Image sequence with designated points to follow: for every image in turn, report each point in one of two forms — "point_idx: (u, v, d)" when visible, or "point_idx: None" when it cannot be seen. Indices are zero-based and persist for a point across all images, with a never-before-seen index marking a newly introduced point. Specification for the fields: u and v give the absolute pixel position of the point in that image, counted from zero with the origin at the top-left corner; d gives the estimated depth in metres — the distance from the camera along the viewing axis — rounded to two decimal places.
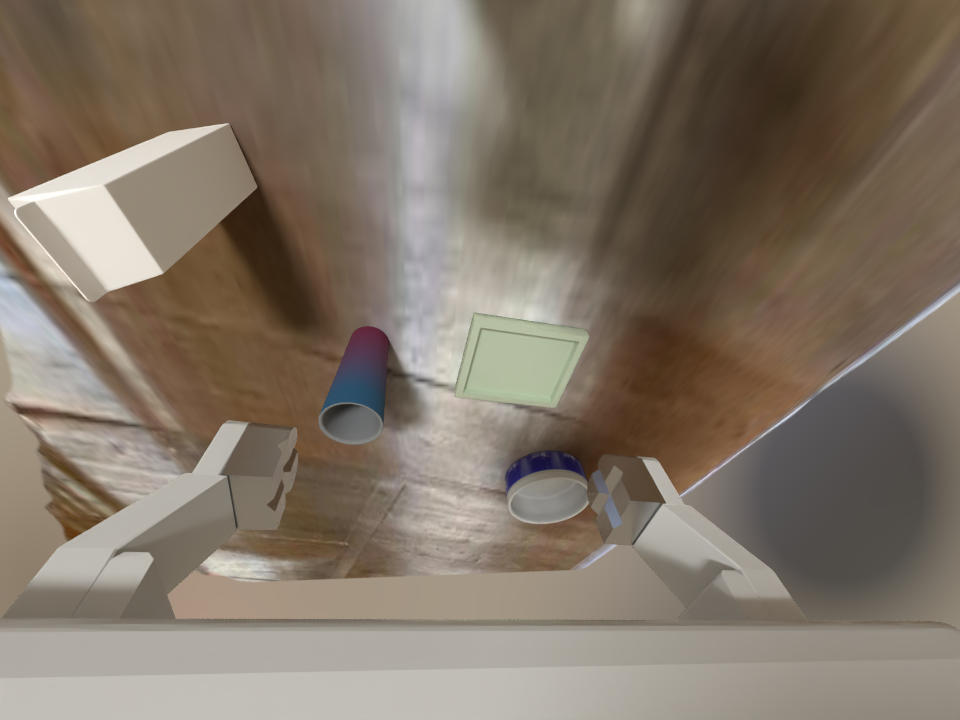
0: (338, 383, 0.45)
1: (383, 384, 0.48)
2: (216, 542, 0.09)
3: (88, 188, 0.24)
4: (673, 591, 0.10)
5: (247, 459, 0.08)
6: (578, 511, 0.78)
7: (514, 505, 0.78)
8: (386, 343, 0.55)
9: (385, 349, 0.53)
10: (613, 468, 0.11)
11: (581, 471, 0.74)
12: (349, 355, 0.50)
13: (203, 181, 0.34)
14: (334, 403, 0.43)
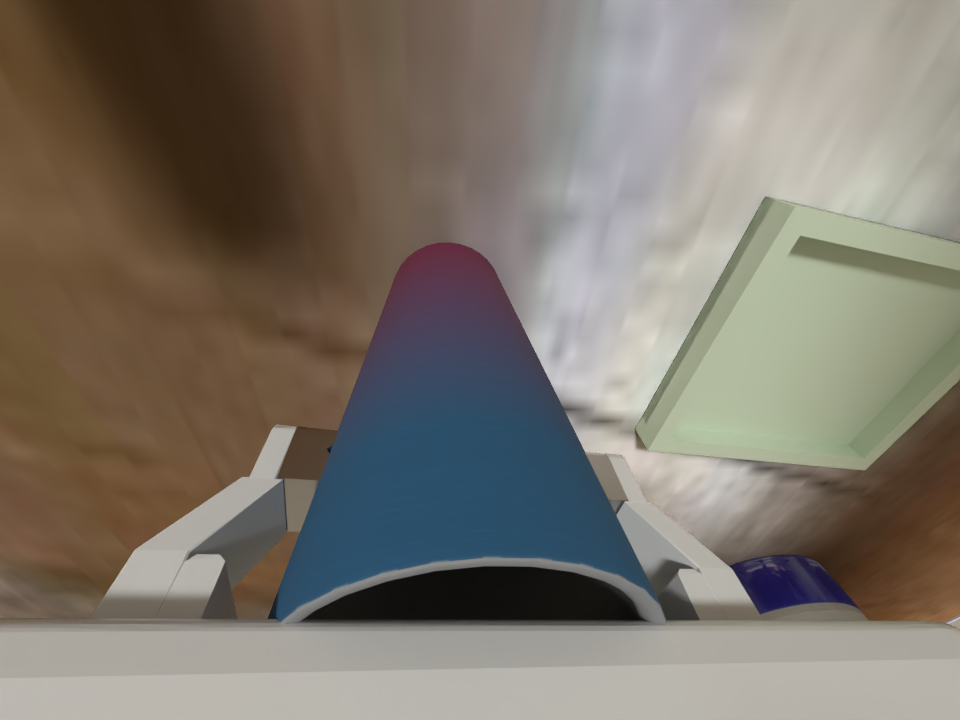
0: (384, 410, 0.08)
1: None
2: (269, 543, 0.09)
3: None
4: None
5: (300, 463, 0.09)
6: None
7: None
8: None
9: None
10: None
11: (850, 598, 0.35)
12: (409, 305, 0.13)
13: None
14: (376, 566, 0.05)
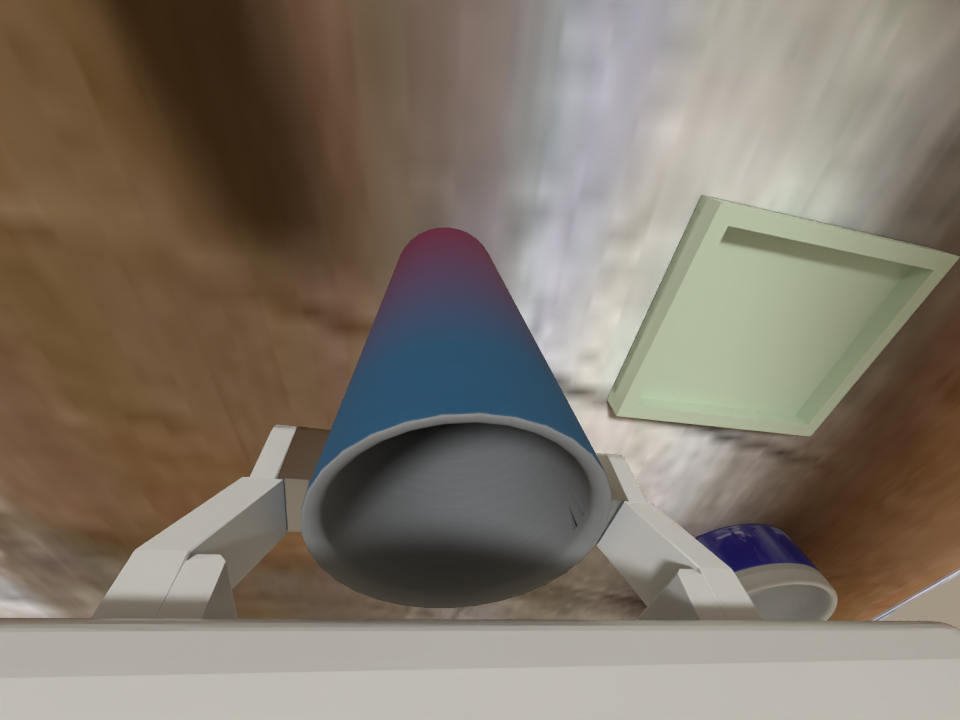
0: (399, 339, 0.10)
1: None
2: (270, 543, 0.09)
3: None
4: (636, 590, 0.10)
5: (300, 463, 0.09)
6: None
7: None
8: None
9: None
10: None
11: None
12: (415, 272, 0.15)
13: None
14: (400, 419, 0.07)
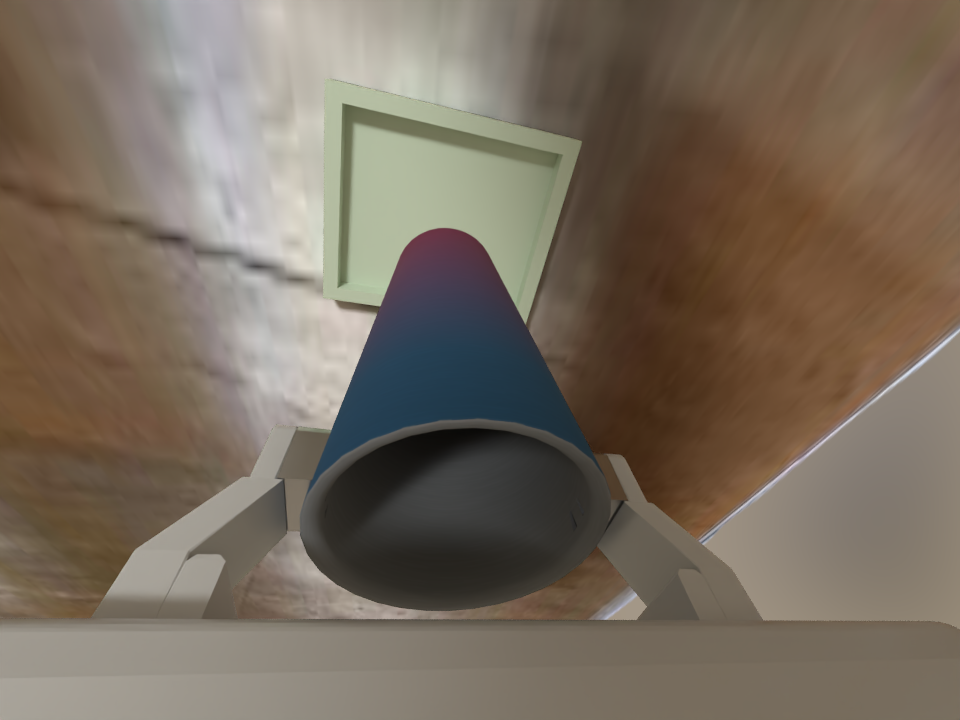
0: (398, 342, 0.10)
1: None
2: (270, 544, 0.09)
3: None
4: (636, 590, 0.10)
5: (300, 463, 0.09)
6: None
7: None
8: None
9: None
10: None
11: None
12: (415, 273, 0.15)
13: None
14: (399, 425, 0.07)
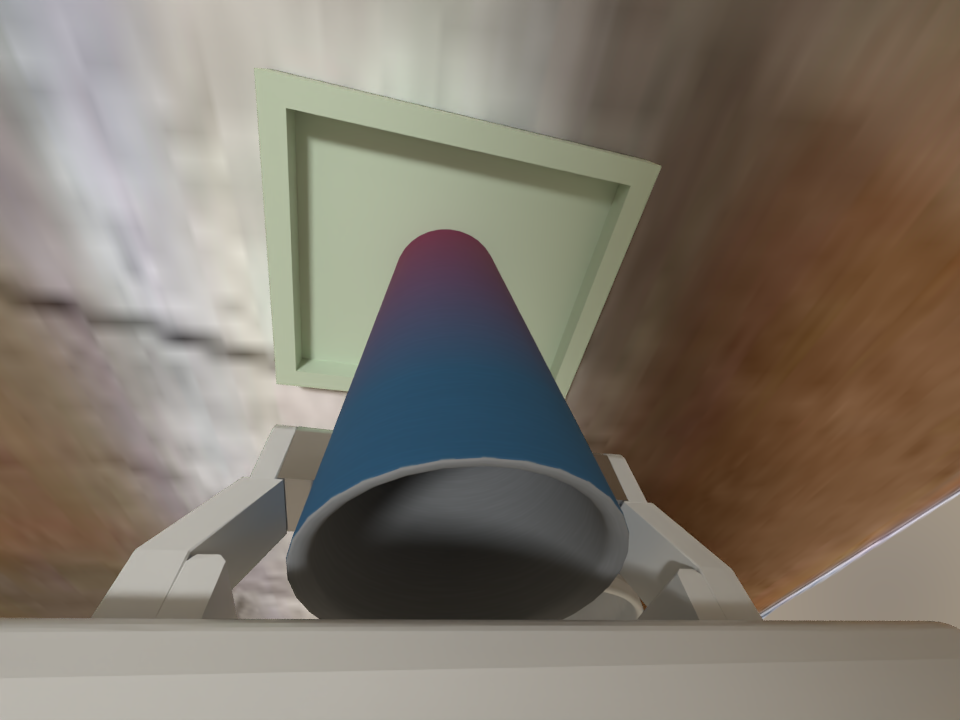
0: (395, 360, 0.10)
1: None
2: (269, 544, 0.09)
3: None
4: (635, 590, 0.10)
5: (300, 463, 0.09)
6: None
7: None
8: None
9: None
10: None
11: None
12: (414, 280, 0.14)
13: None
14: (396, 463, 0.07)
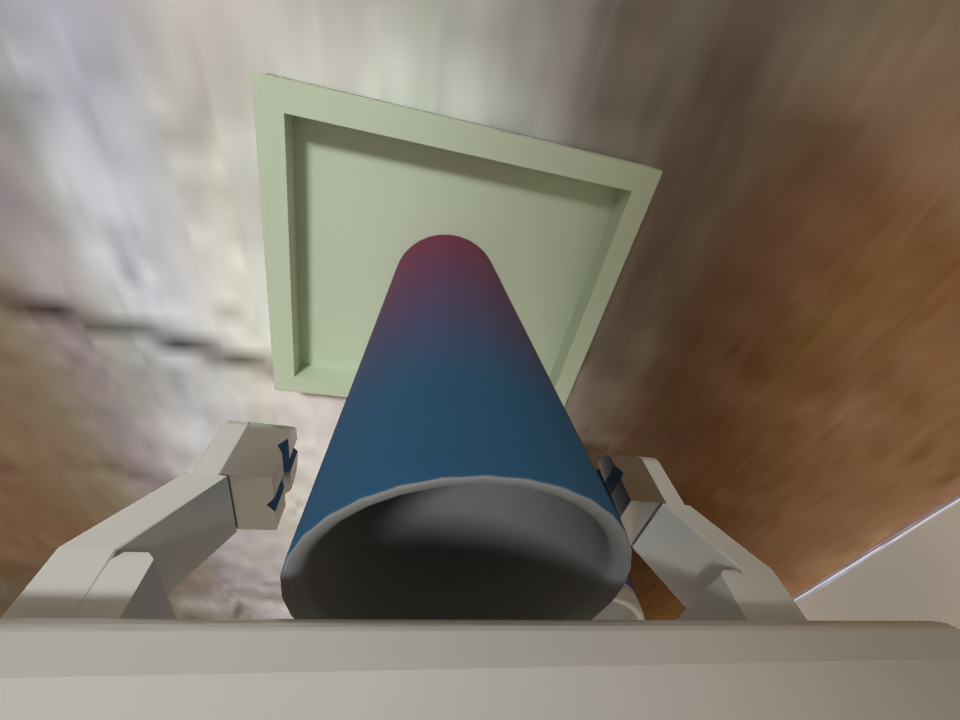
0: (393, 371, 0.09)
1: None
2: (216, 541, 0.09)
3: None
4: (673, 591, 0.10)
5: (247, 459, 0.08)
6: None
7: None
8: None
9: None
10: (613, 468, 0.11)
11: None
12: (413, 287, 0.14)
13: None
14: (392, 482, 0.06)
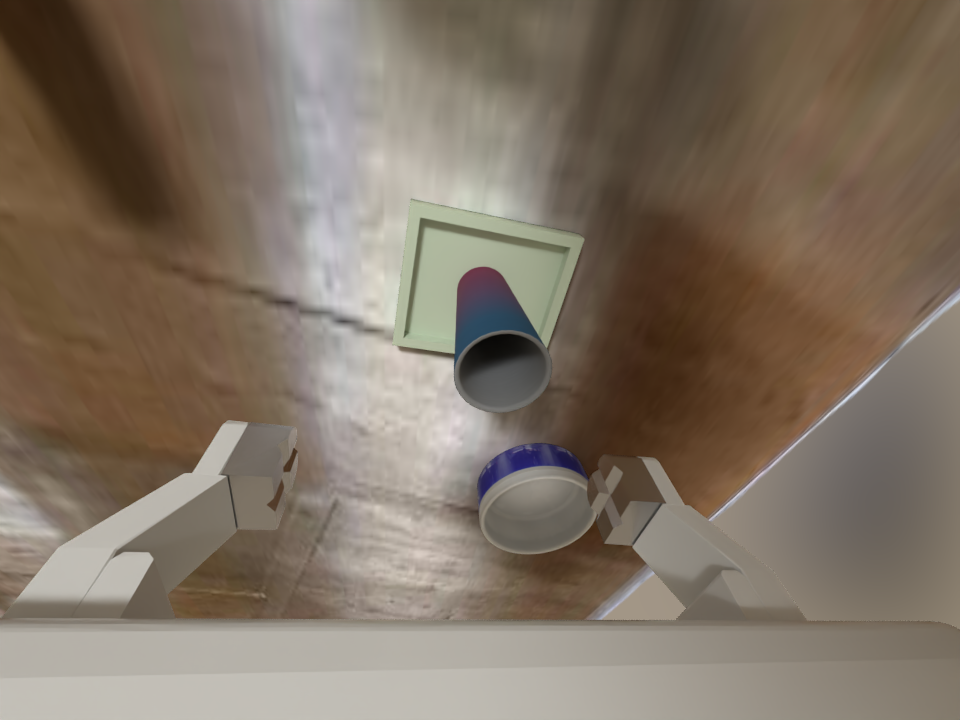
0: (480, 314, 0.30)
1: None
2: (216, 541, 0.09)
3: None
4: (673, 591, 0.10)
5: (247, 459, 0.08)
6: (580, 533, 0.55)
7: (489, 525, 0.55)
8: None
9: None
10: (613, 468, 0.11)
11: (582, 471, 0.53)
12: (476, 289, 0.34)
13: None
14: (489, 332, 0.27)
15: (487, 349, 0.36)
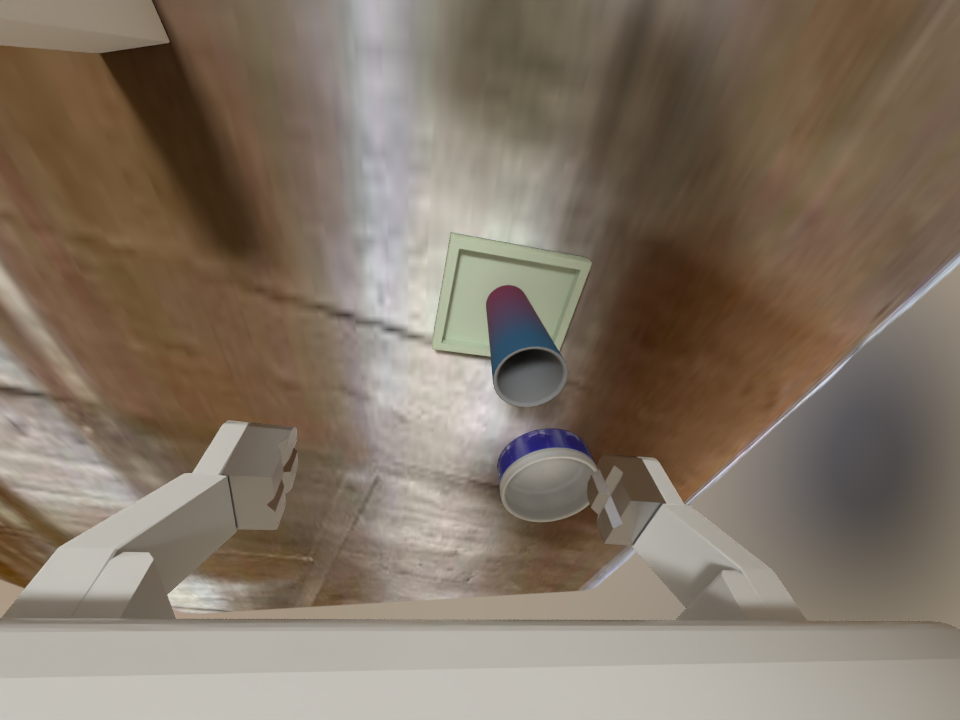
0: (511, 331, 0.38)
1: None
2: (216, 541, 0.09)
3: None
4: (673, 591, 0.10)
5: (247, 459, 0.08)
6: (585, 504, 0.65)
7: (508, 498, 0.65)
8: None
9: None
10: (613, 468, 0.11)
11: (588, 452, 0.62)
12: (505, 308, 0.43)
13: None
14: (521, 348, 0.35)
15: (513, 354, 0.45)
